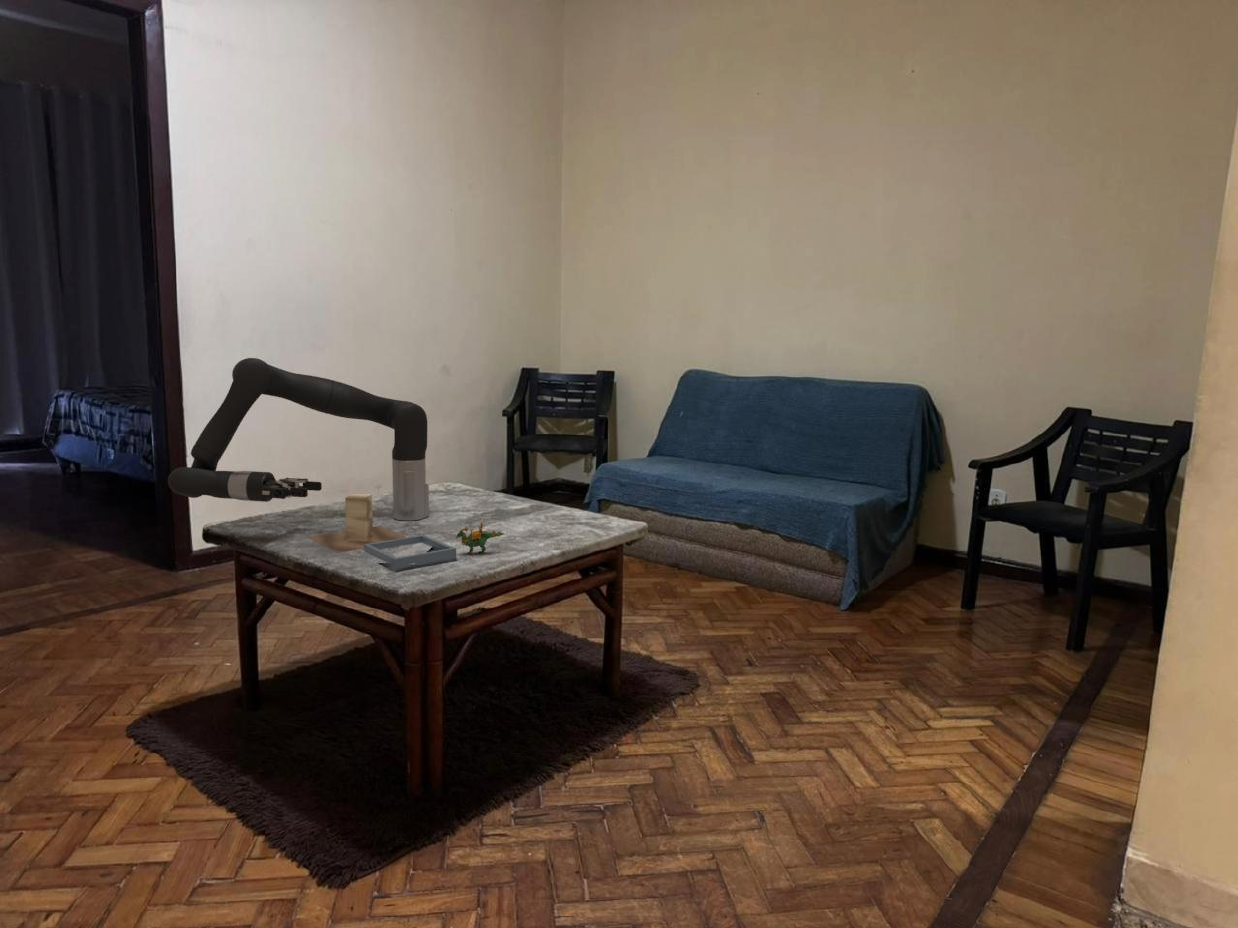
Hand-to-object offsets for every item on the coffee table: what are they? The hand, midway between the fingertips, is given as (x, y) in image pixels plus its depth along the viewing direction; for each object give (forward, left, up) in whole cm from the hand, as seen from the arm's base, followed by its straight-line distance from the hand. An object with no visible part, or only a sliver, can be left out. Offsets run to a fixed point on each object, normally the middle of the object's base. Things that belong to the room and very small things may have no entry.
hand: (314, 489), depth 220 cm
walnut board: (-8, +8, -14) cm, 18 cm away
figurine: (-28, +33, -14) cm, 46 cm away
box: (-12, +27, -14) cm, 33 cm away
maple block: (-8, +8, -12) cm, 17 cm away
